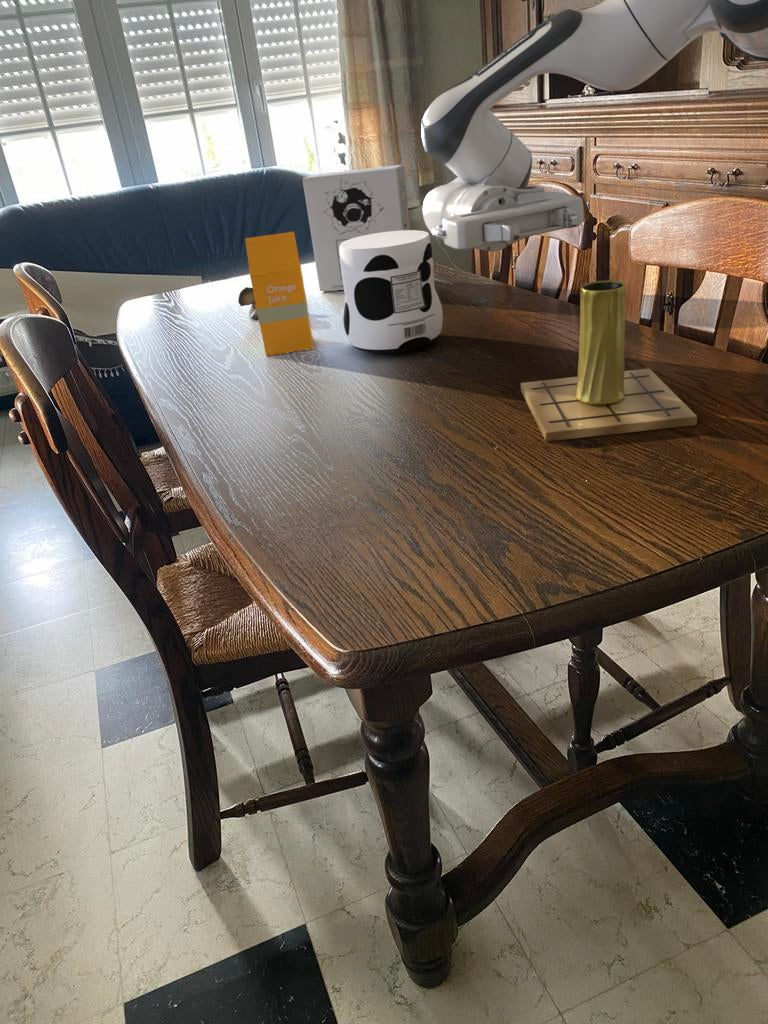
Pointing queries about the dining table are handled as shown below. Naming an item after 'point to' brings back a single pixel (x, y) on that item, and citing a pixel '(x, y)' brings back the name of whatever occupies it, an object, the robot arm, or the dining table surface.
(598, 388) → the vase
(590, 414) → the board
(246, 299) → the eagle figurine
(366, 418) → the dining table surface
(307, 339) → the orange juice
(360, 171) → the cereal box
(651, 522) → the dining table surface
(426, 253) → the milk container
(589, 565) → the dining table surface
